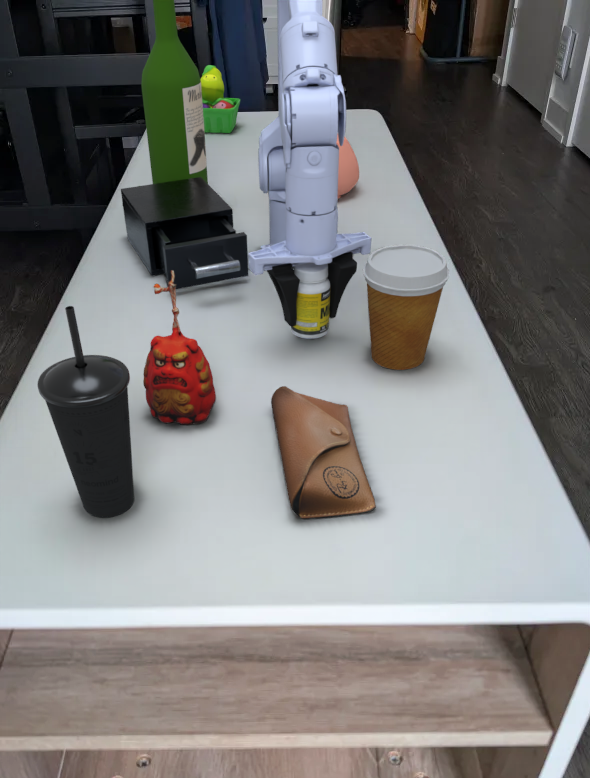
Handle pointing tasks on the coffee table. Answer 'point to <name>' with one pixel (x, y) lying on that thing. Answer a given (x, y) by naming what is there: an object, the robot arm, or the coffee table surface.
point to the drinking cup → (92, 425)
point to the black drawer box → (167, 211)
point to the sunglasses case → (319, 457)
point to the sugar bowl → (346, 168)
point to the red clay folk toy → (178, 375)
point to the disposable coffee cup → (403, 302)
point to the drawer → (200, 251)
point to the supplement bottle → (312, 301)
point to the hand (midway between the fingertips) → (309, 318)
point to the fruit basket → (217, 103)
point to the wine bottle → (173, 104)
